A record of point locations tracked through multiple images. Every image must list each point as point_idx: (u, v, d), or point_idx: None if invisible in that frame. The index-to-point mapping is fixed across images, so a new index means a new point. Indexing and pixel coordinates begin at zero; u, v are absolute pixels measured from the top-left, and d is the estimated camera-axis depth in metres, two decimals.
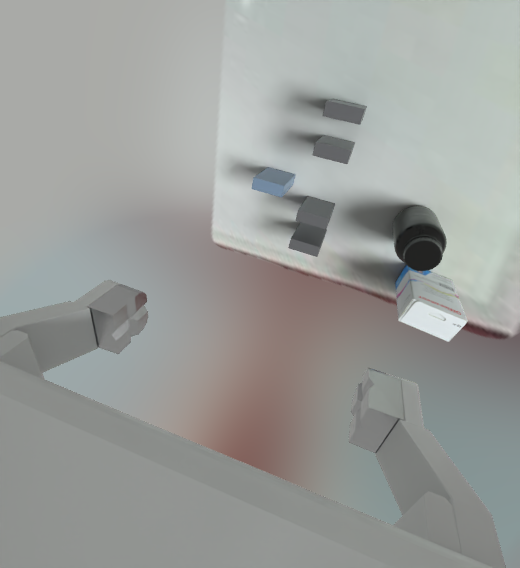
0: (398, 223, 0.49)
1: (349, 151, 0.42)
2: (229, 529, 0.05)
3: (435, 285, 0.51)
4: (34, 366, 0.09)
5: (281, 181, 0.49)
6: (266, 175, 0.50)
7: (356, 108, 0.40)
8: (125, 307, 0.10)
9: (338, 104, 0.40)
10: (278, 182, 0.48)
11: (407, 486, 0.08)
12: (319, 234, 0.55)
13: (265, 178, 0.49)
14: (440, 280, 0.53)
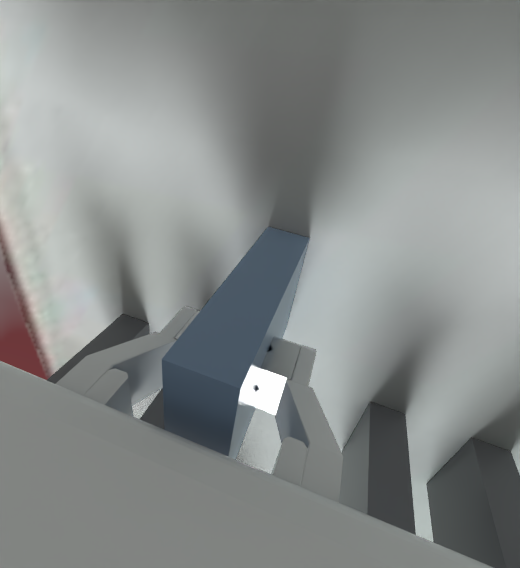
0: None
1: None
2: (229, 529, 0.05)
3: None
4: (129, 405, 0.08)
5: (249, 417, 0.10)
6: (269, 341, 0.09)
7: None
8: None
9: None
10: (234, 453, 0.09)
11: None
12: None
13: (246, 400, 0.08)
14: None
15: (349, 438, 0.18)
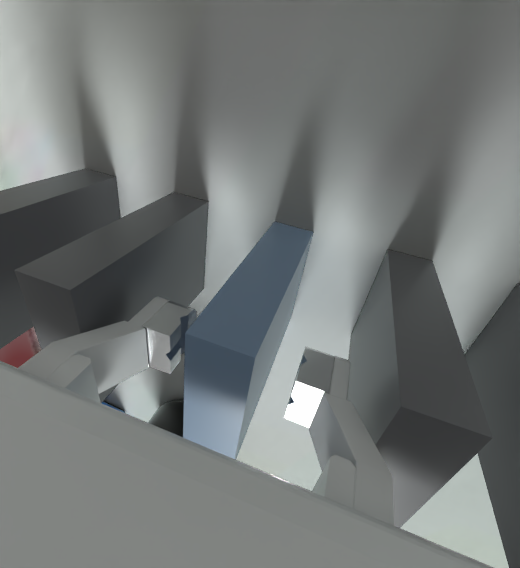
0: None
1: None
2: (229, 529, 0.05)
3: None
4: (94, 391, 0.09)
5: (258, 395, 0.11)
6: (277, 324, 0.10)
7: None
8: (180, 326, 0.10)
9: None
10: (245, 425, 0.10)
11: (329, 455, 0.08)
12: None
13: (257, 375, 0.09)
14: None
15: (360, 313, 0.15)
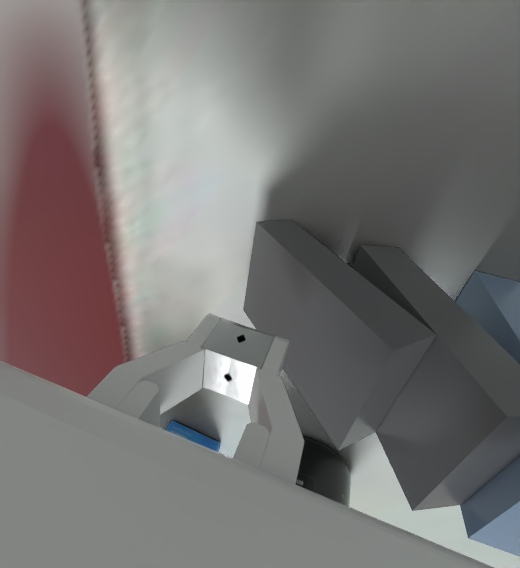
0: None
1: None
2: (229, 529, 0.05)
3: None
4: (158, 417, 0.08)
5: None
6: None
7: None
8: (237, 346, 0.10)
9: None
10: None
11: None
12: None
13: None
14: None
15: None
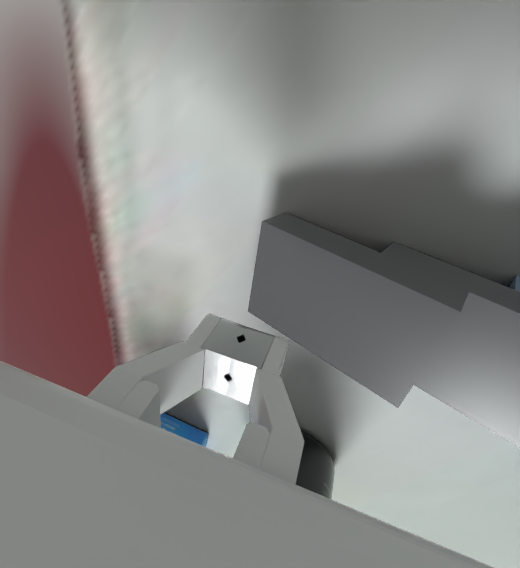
0: None
1: None
2: (229, 529, 0.05)
3: None
4: (158, 417, 0.08)
5: None
6: None
7: None
8: (237, 346, 0.10)
9: None
10: None
11: None
12: None
13: None
14: None
15: None
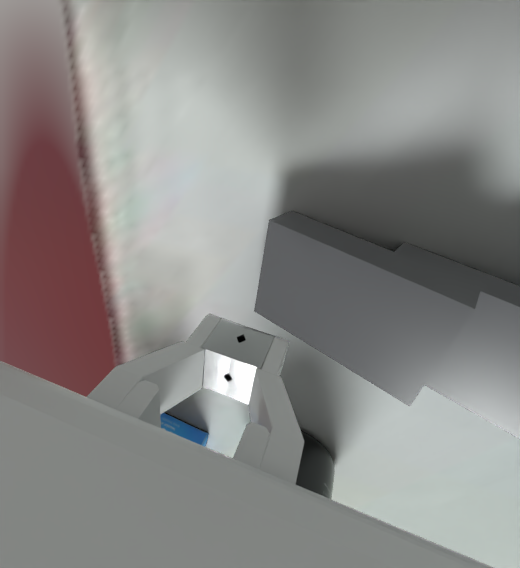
0: None
1: None
2: (229, 529, 0.05)
3: None
4: (158, 417, 0.08)
5: None
6: None
7: None
8: (237, 346, 0.10)
9: None
10: None
11: None
12: None
13: None
14: None
15: None
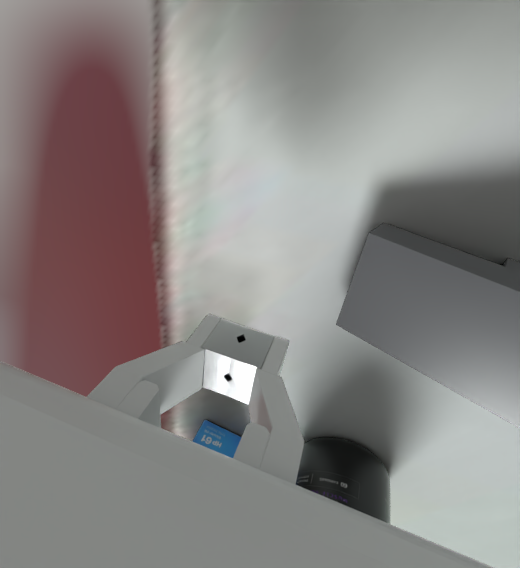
0: (364, 513, 0.18)
1: None
2: (229, 529, 0.05)
3: None
4: (158, 417, 0.08)
5: None
6: None
7: None
8: (237, 346, 0.10)
9: None
10: None
11: None
12: None
13: None
14: None
15: None
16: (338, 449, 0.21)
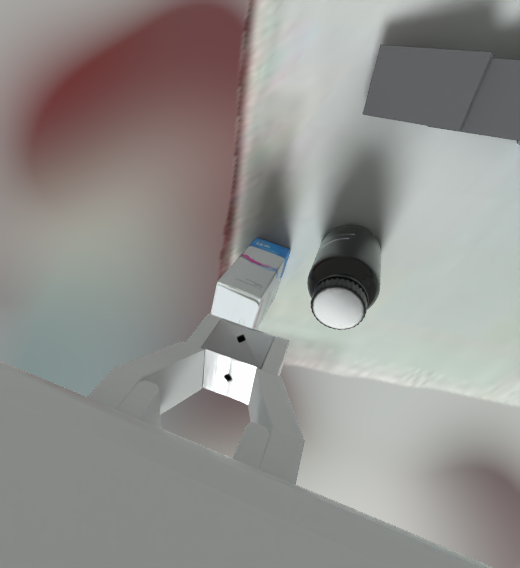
0: (365, 243, 0.31)
1: None
2: (229, 529, 0.05)
3: (271, 296, 0.37)
4: (158, 417, 0.08)
5: None
6: None
7: None
8: (237, 346, 0.10)
9: None
10: None
11: None
12: None
13: None
14: (274, 293, 0.40)
15: None
16: (348, 226, 0.34)
